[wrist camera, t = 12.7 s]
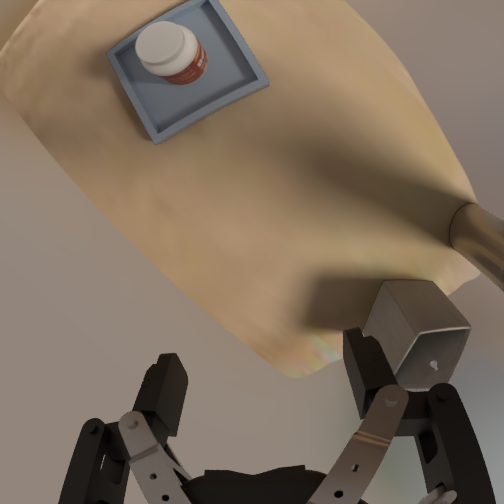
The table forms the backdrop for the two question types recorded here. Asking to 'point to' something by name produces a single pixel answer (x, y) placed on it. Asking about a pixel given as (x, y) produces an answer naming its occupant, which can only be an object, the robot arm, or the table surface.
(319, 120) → the table surface
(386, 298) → the planter
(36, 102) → the table surface
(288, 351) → the table surface
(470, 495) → the robot arm
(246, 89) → the tray
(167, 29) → the pill bottle
